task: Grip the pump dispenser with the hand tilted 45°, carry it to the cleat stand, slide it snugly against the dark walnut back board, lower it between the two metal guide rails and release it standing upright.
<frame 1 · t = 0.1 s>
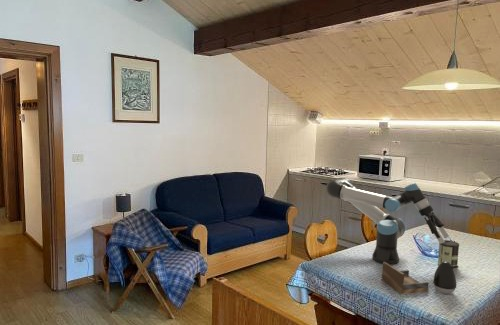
hand: (445, 240, 218), 15 cm above the table, tool tilted 35°, fingers open, 13 cm apart
cleat stand: (405, 285, 191), on the table
coffee can: (447, 266, 219), on the table
pump dispenser: (444, 292, 185), on the table
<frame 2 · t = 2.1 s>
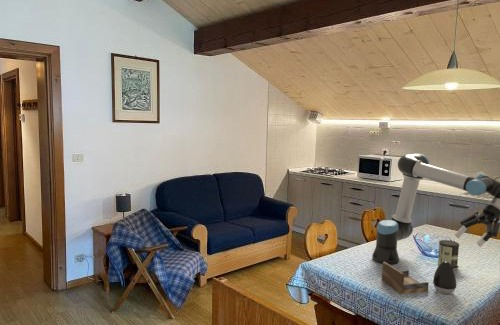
hand: (467, 240, 185), 25 cm above the table, tool tilted 45°, fingers open, 13 cm apart
nothing on the table moved.
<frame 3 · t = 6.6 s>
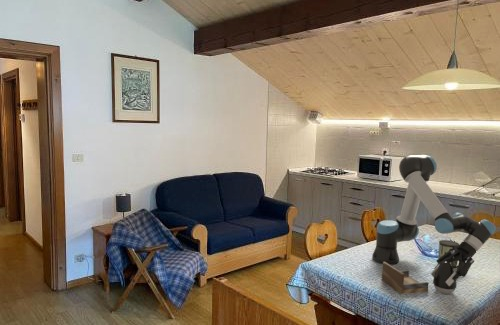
hand: (439, 279, 184), 6 cm above the table, tool tilted 45°, fingers closed on pump dispenser, 9 cm apart
pump dispenser: (444, 292, 185), on the table, touching gripper
everything else where it was.
when the fingers open (10 cm above the table, at t = 12.8 s): pump dispenser drops 1 cm, resting on cleat stand.
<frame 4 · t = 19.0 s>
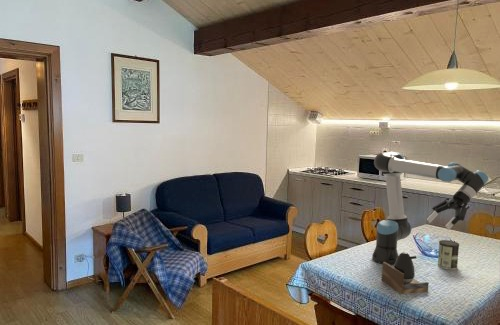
hand: (437, 224, 197), 30 cm above the table, tool tilted 45°, fingers open, 13 cm apart
pump dispenser: (403, 282, 191), point 2 cm above the table, touching cleat stand
everything else where it was.
at the end: pump dispenser inside the target area on the cleat stand (0.2 cm from its centre), point 1.8 cm above the cleat stand's base; pump dispenser tilted 0°; the gripper is holding nothing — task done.
